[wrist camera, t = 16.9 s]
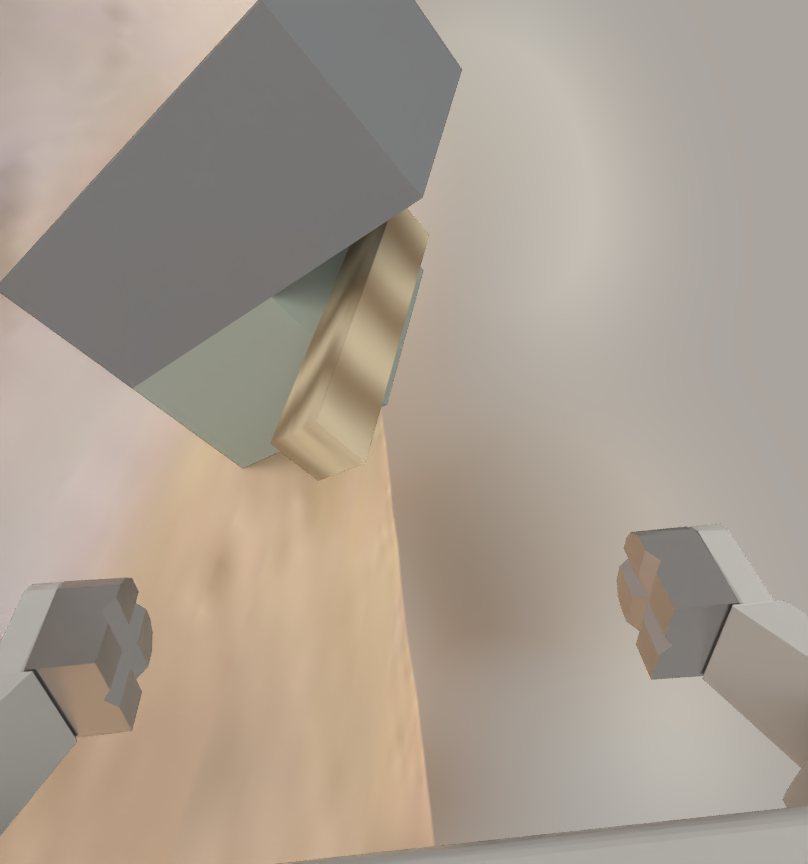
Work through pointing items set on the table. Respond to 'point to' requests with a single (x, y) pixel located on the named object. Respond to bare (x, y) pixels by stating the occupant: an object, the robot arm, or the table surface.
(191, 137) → the step stand
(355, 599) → the table surface
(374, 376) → the batten
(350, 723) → the table surface
